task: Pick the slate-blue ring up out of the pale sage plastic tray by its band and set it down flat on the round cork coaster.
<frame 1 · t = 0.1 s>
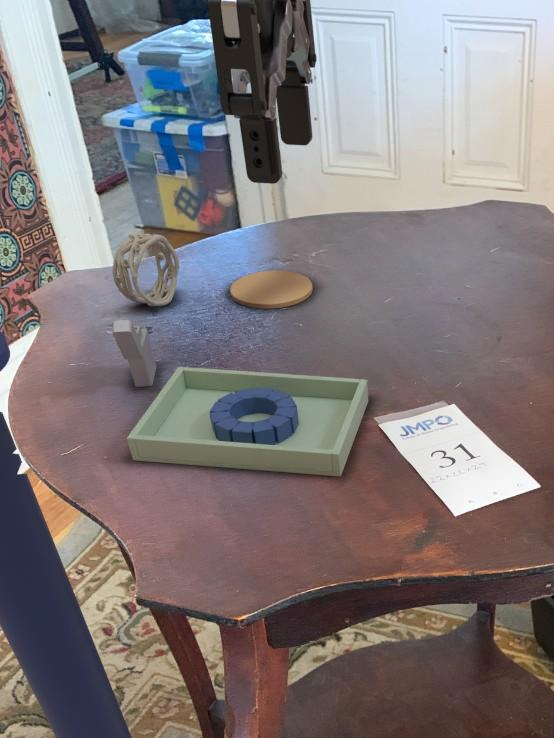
hand: (282, 161, 59), 26 cm above the table, tool pointing down, fingers open, 8 cm apart
gray letter y: (144, 385, 88), on the table
tray: (256, 429, 82), on the table
coaster: (272, 291, 105), on the table
ring: (256, 425, 82), resting on tray
bracelet: (155, 303, 102), on the table
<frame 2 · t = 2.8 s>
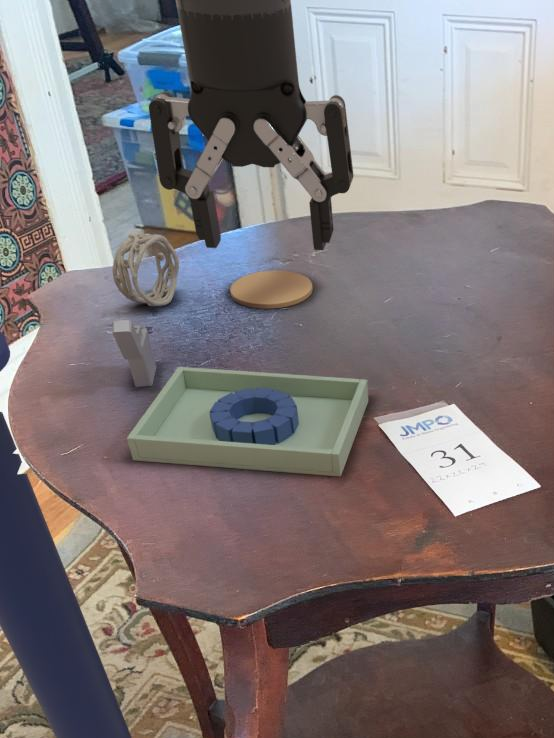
hand: (266, 245, 68), 18 cm above the table, tool pointing down, fingers open, 8 cm apart
nothing on the table moved.
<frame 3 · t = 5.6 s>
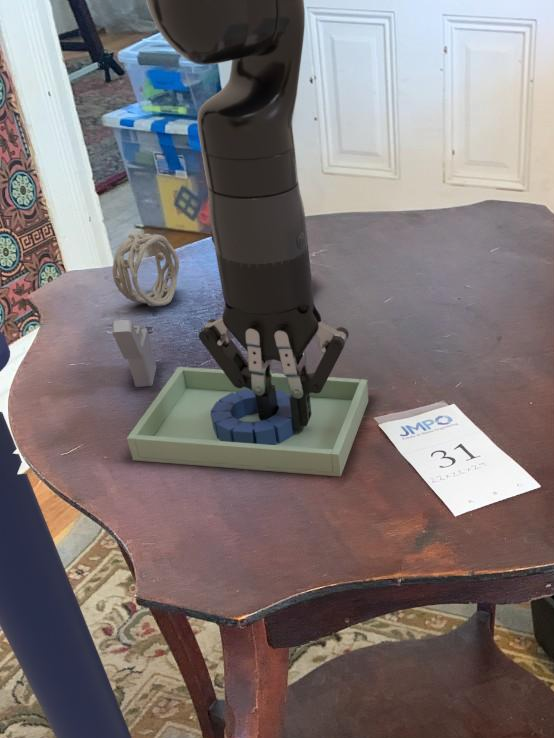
hand: (286, 425, 81), 1 cm above the table, tool pointing down, fingers closed on ring, 2 cm apart
ring: (257, 425, 82), resting on tray, touching gripper
everything else where it was.
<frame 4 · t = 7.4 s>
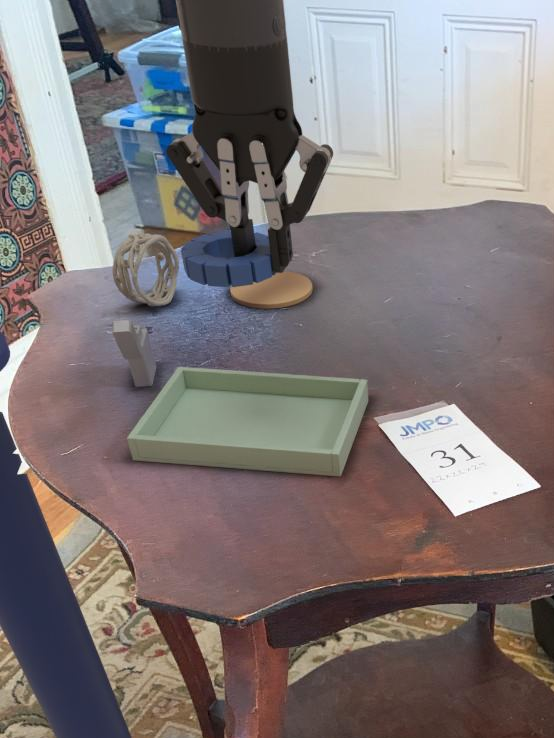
hand: (265, 267, 74), 15 cm above the table, tool pointing down, fingers closed on ring
ring: (233, 268, 74), point 14 cm above the table, touching gripper
everything else where it was.
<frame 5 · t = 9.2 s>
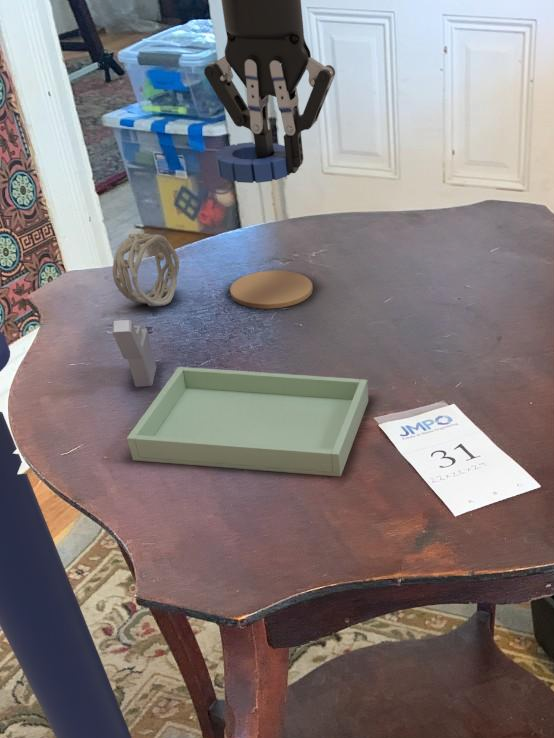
hand: (281, 169, 92), 15 cm above the table, tool pointing down, fingers closed on ring
ring: (255, 170, 92), point 15 cm above the table, touching gripper
everything else where it was.
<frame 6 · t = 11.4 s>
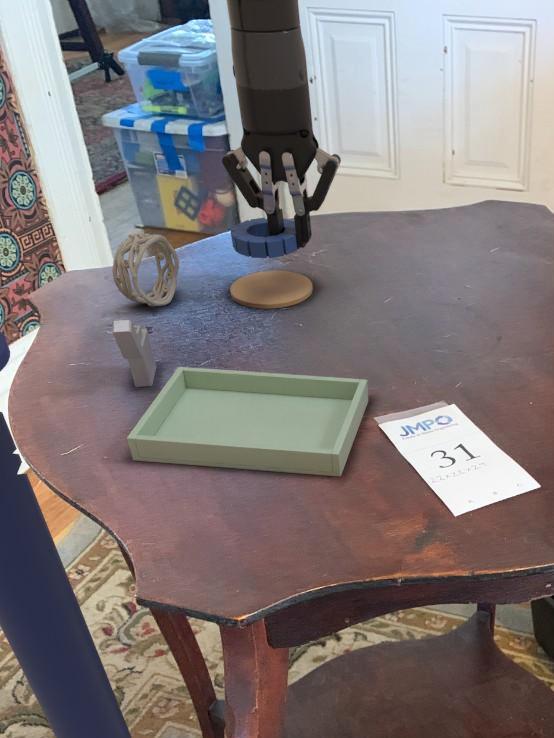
hand: (291, 244, 101), 6 cm above the table, tool pointing down, fingers closed on ring
ring: (267, 245, 101), point 6 cm above the table, touching gripper
everything else where it was.
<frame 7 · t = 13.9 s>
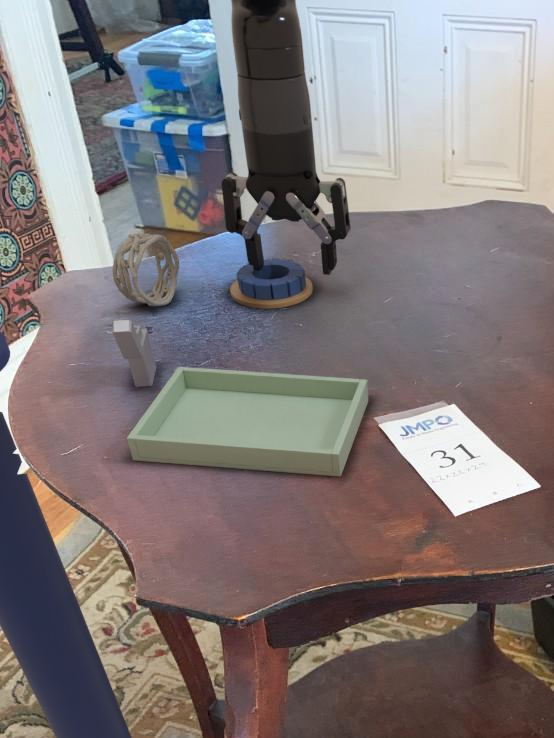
hand: (293, 270, 103), 3 cm above the table, tool pointing down, fingers open, 8 cm apart
ring: (272, 286, 105), point 1 cm above the table, touching coaster
everything else where it was.
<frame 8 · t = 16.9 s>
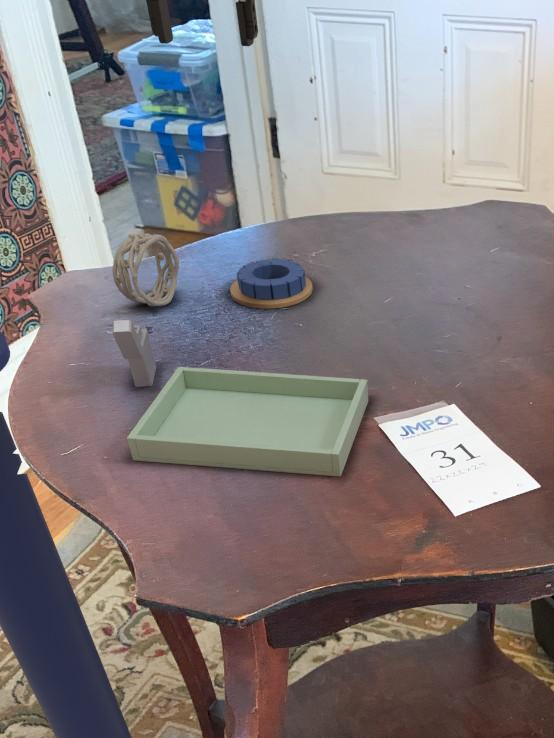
hand: (206, 43, 87), 26 cm above the table, tool pointing down, fingers open, 8 cm apart
nothing on the table moved.
at the end: ring 0.1 cm off-centre on the coaster, point 0.6 cm above the coaster's base; ring touching coaster; ring tilted 0° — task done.
